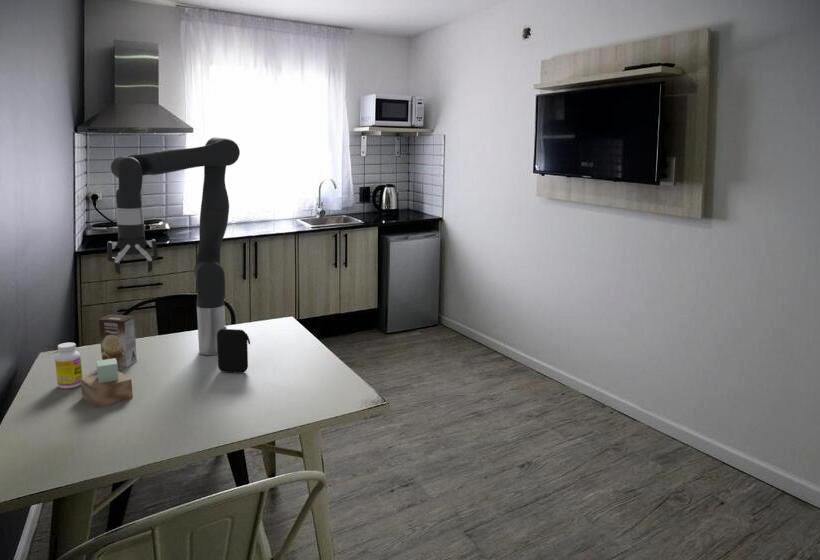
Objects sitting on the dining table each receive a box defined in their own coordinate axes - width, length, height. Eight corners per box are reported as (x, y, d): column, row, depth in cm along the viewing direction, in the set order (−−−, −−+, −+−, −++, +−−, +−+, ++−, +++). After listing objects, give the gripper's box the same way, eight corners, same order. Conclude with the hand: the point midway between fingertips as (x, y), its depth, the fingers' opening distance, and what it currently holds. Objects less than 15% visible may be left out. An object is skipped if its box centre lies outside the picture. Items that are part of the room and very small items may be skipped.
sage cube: (116, 374, 173) (115, 358, 172) (118, 380, 168) (117, 363, 167) (97, 377, 170) (96, 360, 169) (98, 383, 166) (97, 366, 165)
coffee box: (101, 365, 194) (96, 319, 190) (112, 359, 200) (108, 313, 196) (127, 367, 193) (123, 320, 189) (138, 360, 199) (134, 315, 196)
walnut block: (117, 388, 177) (116, 369, 176) (132, 398, 171) (131, 379, 170) (82, 398, 170) (80, 378, 168) (96, 408, 163) (94, 388, 162)
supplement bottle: (77, 389, 175) (73, 348, 172) (54, 389, 174) (49, 348, 171) (86, 380, 182) (82, 341, 179) (63, 381, 181) (59, 341, 178)
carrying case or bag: (252, 371, 193) (251, 328, 190) (249, 374, 190) (248, 331, 187) (220, 370, 193) (218, 327, 190) (217, 373, 190) (215, 330, 187)
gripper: (154, 220, 188) (157, 269, 192) (104, 221, 182) (108, 272, 185) (156, 223, 182) (159, 274, 185) (104, 224, 175) (109, 277, 179)
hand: (134, 273), depth 185 cm, fingers open, 8 cm apart
